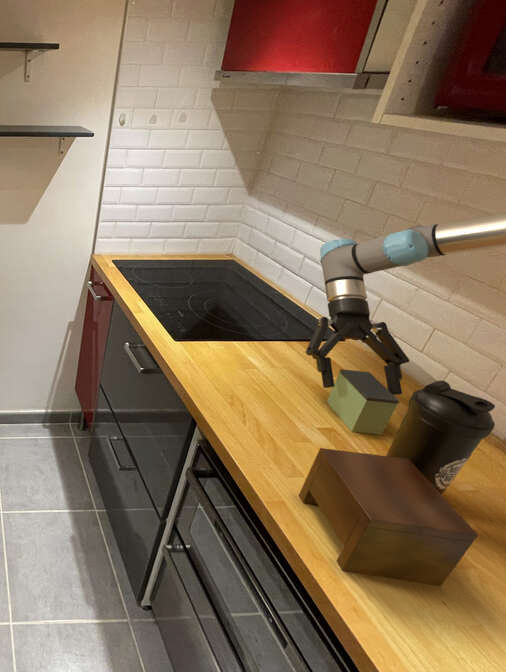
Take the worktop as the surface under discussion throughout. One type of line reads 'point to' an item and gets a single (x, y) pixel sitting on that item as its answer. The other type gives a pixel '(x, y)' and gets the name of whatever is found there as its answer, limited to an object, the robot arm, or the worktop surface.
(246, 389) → the worktop surface
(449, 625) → the worktop surface
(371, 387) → the box
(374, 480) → the walnut shelf
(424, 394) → the water bottle
